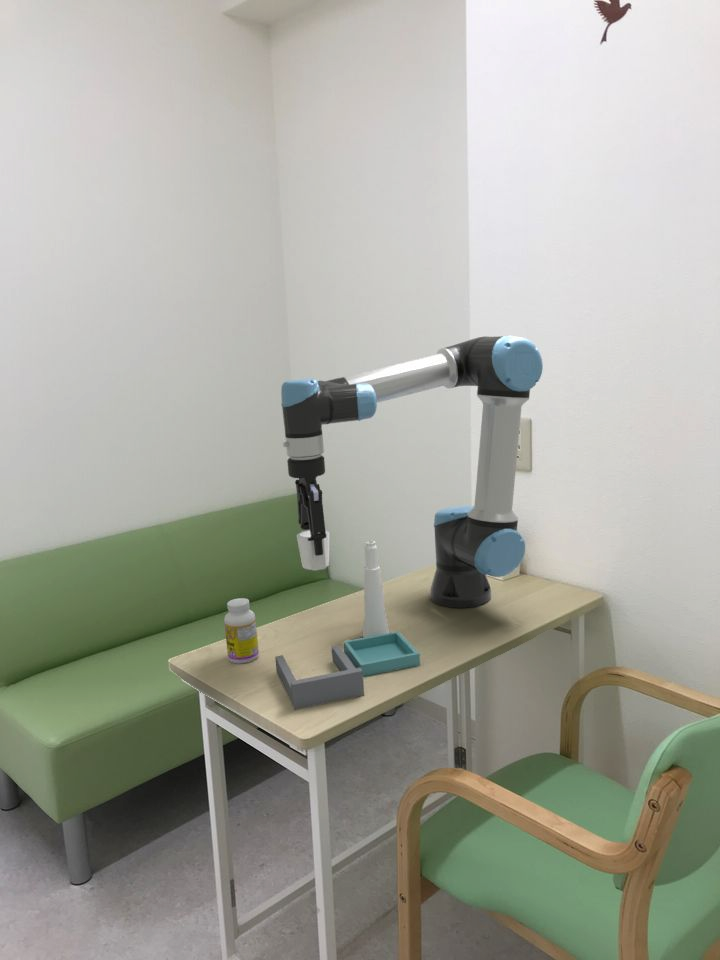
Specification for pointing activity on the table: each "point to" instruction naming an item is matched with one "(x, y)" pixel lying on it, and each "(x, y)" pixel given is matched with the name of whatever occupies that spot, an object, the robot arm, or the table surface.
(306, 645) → the table surface
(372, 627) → the cosmetic bottle
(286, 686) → the bay
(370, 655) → the tray
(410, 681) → the table surface
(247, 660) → the supplement bottle
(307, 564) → the shot glass
